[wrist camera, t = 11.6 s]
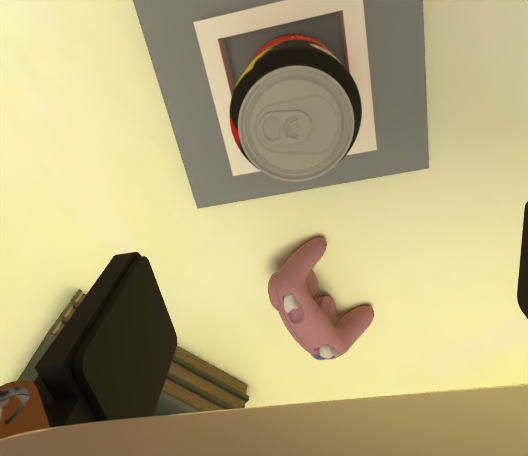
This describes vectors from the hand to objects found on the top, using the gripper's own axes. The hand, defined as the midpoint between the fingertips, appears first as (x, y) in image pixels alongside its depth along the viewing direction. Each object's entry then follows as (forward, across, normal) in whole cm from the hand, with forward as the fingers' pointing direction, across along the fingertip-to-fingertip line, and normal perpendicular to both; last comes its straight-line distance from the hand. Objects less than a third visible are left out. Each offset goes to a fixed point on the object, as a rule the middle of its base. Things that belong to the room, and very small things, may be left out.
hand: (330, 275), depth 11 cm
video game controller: (+23, +1, +16) cm, 28 cm away
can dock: (+22, +1, -2) cm, 22 cm away
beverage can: (+22, +1, -1) cm, 22 cm away
